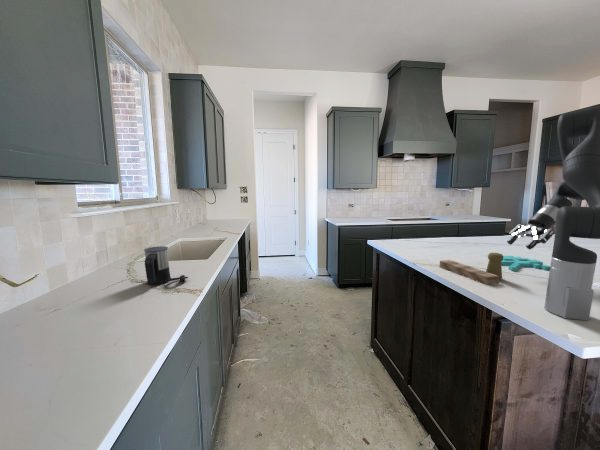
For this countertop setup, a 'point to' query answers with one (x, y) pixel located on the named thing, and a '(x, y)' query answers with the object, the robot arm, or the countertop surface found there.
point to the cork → (495, 264)
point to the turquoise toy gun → (522, 263)
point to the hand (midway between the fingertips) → (517, 245)
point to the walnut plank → (470, 272)
